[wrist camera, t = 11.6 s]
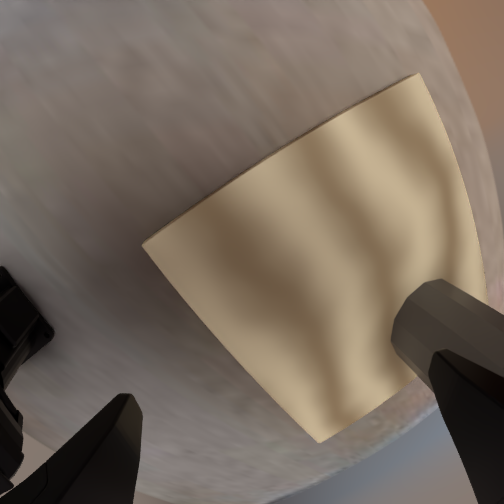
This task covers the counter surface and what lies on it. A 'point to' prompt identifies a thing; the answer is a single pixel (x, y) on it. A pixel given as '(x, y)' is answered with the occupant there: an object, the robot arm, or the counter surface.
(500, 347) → the grey cylinder
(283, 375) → the birch board
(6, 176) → the counter surface
